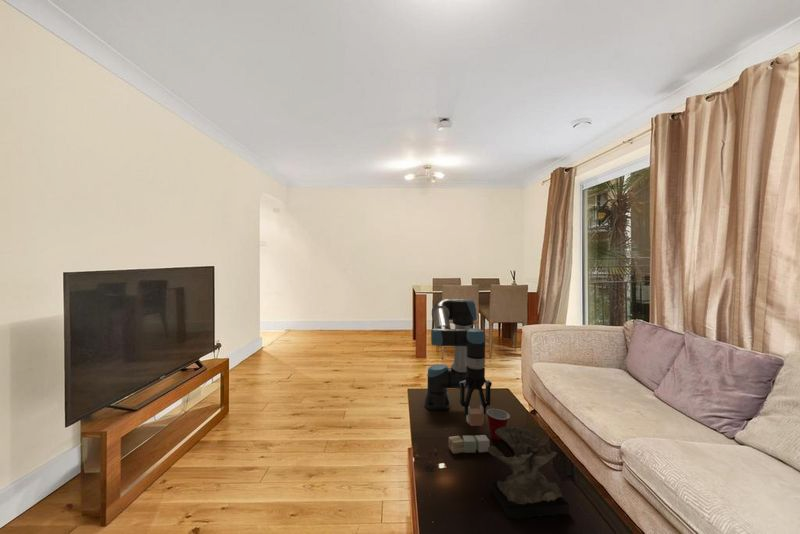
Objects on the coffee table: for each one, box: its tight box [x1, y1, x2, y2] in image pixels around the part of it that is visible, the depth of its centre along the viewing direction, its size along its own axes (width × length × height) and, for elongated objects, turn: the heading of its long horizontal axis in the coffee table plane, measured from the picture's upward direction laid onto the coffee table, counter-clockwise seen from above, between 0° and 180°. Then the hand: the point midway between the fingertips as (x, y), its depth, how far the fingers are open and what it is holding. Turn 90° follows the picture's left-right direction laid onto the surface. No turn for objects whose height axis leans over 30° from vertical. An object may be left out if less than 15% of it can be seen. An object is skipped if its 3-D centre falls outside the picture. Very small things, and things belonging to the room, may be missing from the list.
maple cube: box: [448, 435, 465, 455], centre depth 150 cm, size 5×5×5 cm
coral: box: [488, 426, 570, 519], centre depth 120 cm, size 25×20×22 cm
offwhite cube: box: [474, 434, 491, 453], centre depth 151 cm, size 5×5×5 cm
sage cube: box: [462, 435, 477, 454], centre depth 150 cm, size 5×5×5 cm
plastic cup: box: [486, 408, 511, 441], centre depth 161 cm, size 11×11×12 cm
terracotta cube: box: [469, 407, 484, 427], centre depth 139 cm, size 5×5×5 cm
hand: (474, 421), depth 139 cm, fingers closed on terracotta cube, 5 cm apart
